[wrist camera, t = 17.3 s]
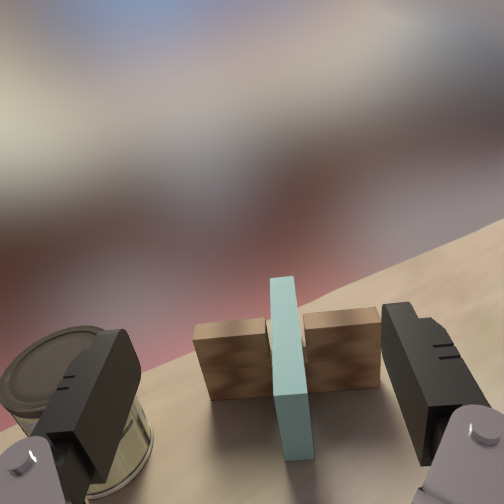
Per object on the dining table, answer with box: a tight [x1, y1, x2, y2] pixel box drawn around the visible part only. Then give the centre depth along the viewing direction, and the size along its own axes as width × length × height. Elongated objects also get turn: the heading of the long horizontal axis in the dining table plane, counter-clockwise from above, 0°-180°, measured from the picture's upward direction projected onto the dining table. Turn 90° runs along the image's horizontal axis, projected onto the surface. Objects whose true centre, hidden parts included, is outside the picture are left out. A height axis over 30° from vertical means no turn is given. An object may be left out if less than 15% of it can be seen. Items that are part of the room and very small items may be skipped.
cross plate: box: [270, 276, 315, 461], centre depth 44 cm, size 3×18×10 cm, turn 179°
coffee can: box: [0, 325, 153, 499], centre depth 40 cm, size 10×10×14 cm
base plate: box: [193, 307, 381, 401], centre depth 45 cm, size 20×2×10 cm, turn 88°
